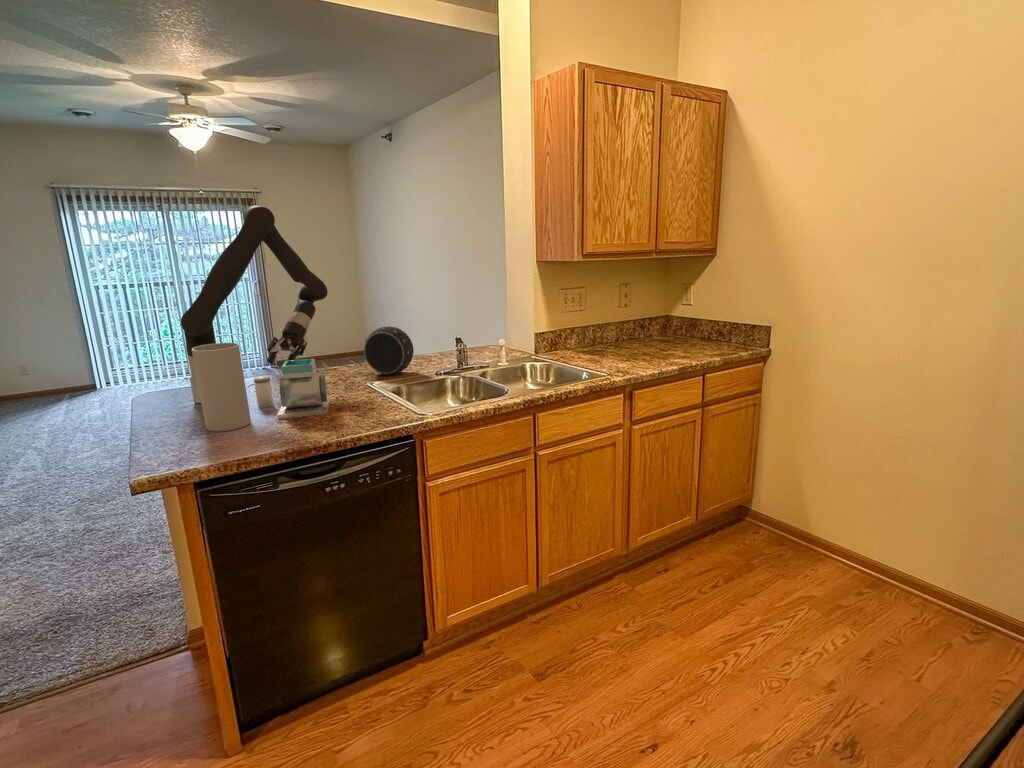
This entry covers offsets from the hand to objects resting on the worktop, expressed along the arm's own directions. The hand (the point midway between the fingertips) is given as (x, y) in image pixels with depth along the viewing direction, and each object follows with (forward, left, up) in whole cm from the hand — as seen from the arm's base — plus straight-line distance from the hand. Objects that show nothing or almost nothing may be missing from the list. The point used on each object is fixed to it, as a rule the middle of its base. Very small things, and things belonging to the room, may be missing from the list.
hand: (278, 363), depth 194 cm
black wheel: (+39, +25, -13) cm, 48 cm away
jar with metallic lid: (-5, -7, -13) cm, 16 cm away
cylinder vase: (-12, -27, -13) cm, 33 cm away
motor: (+9, -18, -13) cm, 24 cm away
